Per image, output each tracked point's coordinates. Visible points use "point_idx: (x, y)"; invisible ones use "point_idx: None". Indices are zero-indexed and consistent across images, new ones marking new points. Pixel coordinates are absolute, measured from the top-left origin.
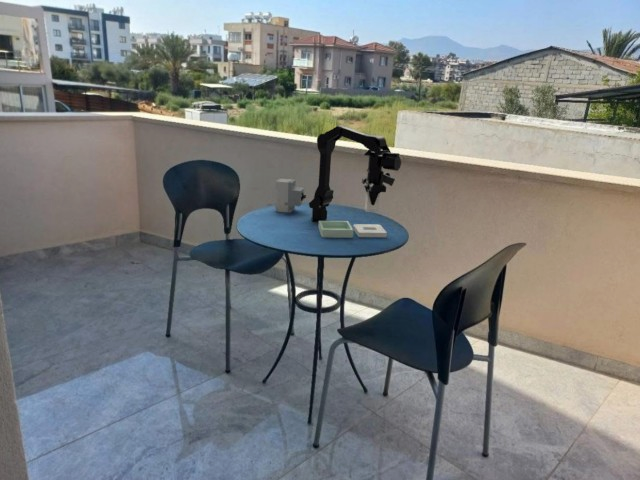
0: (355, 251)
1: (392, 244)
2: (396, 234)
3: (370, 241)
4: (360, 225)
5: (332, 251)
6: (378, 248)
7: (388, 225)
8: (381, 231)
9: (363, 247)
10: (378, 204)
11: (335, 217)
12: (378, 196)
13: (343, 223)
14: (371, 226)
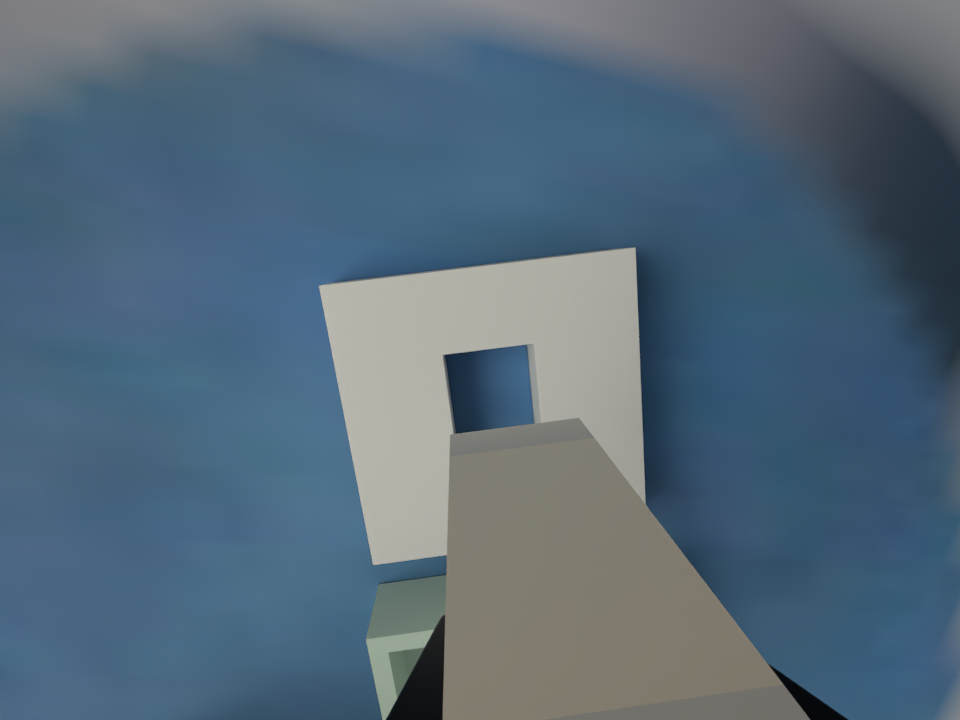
0: (957, 540)
1: (820, 221)
2: (507, 117)
3: (736, 413)
4: (403, 501)
5: (939, 680)
6: (911, 364)
7: (168, 154)
8: (591, 302)
9: (878, 480)
10: (634, 493)
11: (37, 680)
12: (777, 717)
13: (394, 659)
14: (419, 392)
